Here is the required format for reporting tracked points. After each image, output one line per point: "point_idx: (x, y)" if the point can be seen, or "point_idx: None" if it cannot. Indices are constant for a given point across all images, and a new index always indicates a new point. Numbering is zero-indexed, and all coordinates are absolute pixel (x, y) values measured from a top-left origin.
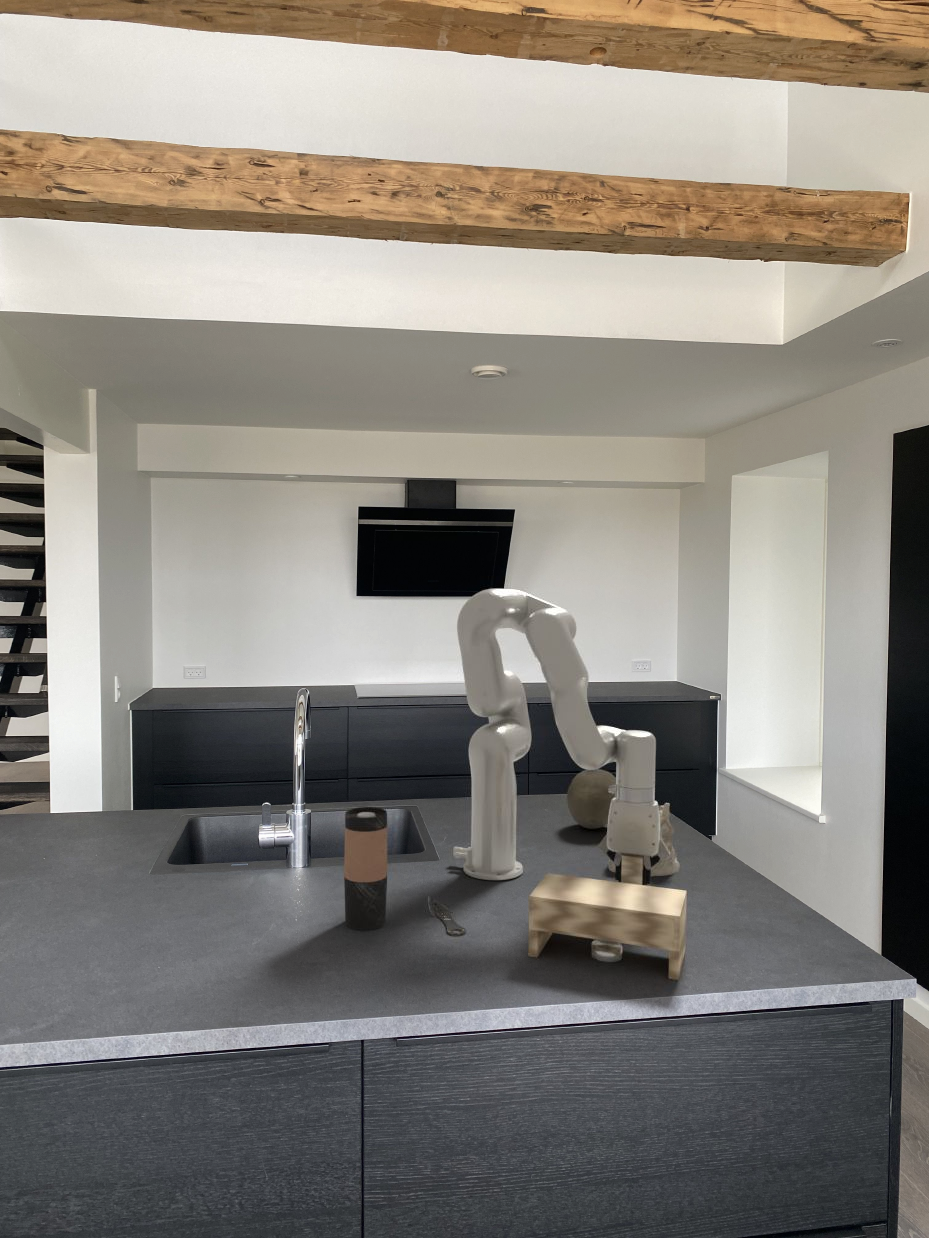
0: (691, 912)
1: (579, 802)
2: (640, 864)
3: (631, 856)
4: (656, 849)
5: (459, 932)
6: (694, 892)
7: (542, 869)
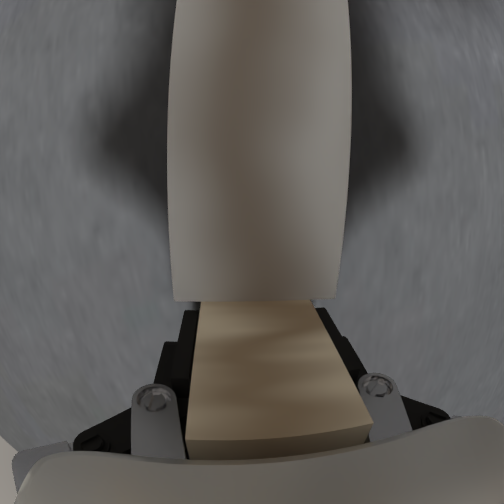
0: (9, 205)
1: None
2: (204, 397)
3: (290, 443)
4: (24, 486)
5: None
6: (63, 386)
7: (484, 374)
